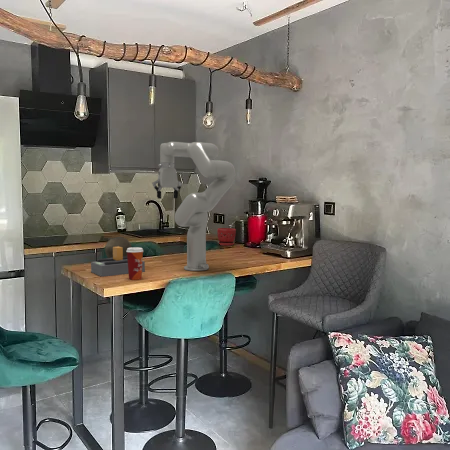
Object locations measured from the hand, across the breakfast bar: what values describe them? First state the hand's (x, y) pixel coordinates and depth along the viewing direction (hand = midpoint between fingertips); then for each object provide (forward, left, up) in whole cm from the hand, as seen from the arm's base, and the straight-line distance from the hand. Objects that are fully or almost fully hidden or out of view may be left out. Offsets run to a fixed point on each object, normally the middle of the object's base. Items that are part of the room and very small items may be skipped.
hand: (167, 198), depth 248 cm
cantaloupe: (+10, +24, -36) cm, 44 cm away
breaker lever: (-8, +32, -31) cm, 46 cm away
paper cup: (-28, +32, -36) cm, 56 cm away
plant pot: (+45, -72, -36) cm, 92 cm away
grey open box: (-8, +32, -35) cm, 49 cm away
